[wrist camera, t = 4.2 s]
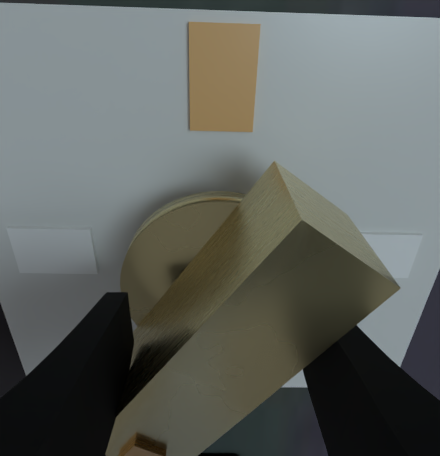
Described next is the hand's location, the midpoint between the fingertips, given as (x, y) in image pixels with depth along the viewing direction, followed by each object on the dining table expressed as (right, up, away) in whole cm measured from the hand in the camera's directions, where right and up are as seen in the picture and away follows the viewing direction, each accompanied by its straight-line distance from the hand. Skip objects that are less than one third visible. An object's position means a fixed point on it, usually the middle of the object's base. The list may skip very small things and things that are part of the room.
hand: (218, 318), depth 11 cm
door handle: (0, +1, +2) cm, 2 cm away
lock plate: (0, +2, +4) cm, 5 cm away
